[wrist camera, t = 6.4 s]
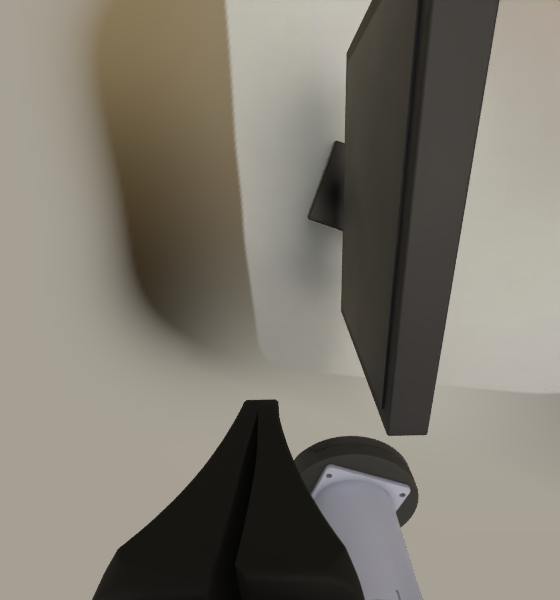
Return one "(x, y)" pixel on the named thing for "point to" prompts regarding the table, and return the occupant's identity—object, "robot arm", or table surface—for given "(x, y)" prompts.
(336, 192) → the monitor stand
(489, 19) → the panel
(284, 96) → the table surface
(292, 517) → the robot arm
